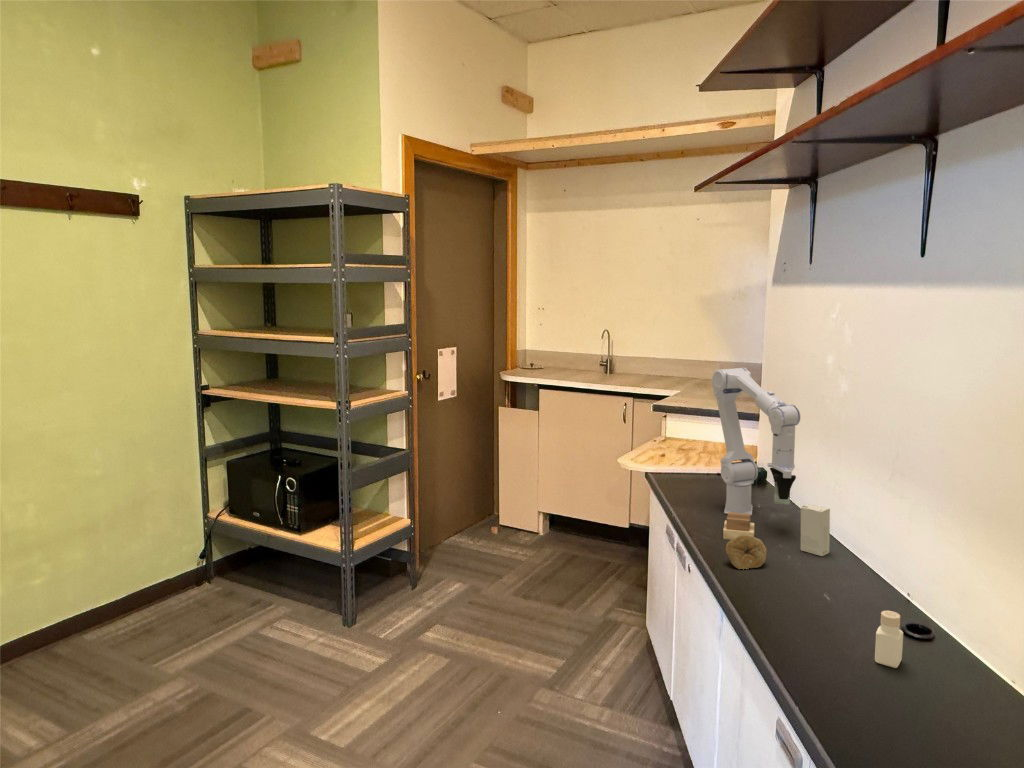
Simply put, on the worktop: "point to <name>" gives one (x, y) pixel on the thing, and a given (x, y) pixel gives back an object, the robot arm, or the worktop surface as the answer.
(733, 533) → the birch slab
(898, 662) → the cream bottle
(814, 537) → the skincare box
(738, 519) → the walnut block
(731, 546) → the fossil
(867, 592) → the worktop surface
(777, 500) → the greenish gray cube
